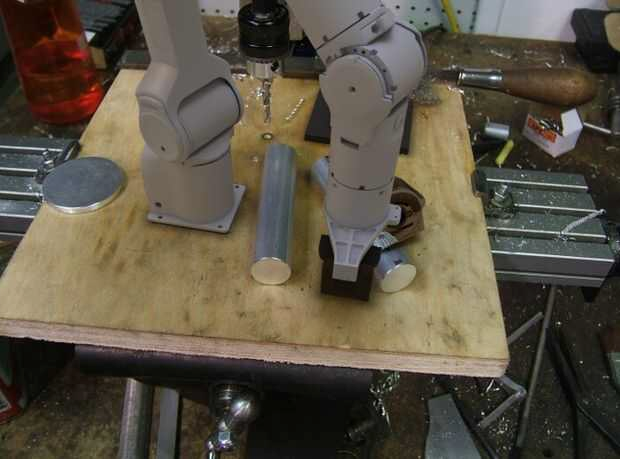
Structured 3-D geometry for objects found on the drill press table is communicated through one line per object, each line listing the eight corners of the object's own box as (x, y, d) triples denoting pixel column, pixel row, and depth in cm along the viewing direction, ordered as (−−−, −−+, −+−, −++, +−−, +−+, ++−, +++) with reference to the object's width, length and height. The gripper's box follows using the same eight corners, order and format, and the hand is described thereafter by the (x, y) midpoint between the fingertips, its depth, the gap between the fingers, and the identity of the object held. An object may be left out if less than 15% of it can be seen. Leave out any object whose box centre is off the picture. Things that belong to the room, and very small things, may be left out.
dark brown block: (320, 293, 57) (322, 267, 54) (326, 264, 60) (328, 238, 57) (368, 301, 57) (373, 275, 54) (372, 272, 60) (377, 246, 57)
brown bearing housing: (332, 222, 57) (431, 208, 56) (326, 138, 65) (412, 124, 64) (341, 262, 62) (432, 251, 61) (335, 180, 71) (414, 168, 69)
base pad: (304, 140, 76) (305, 121, 74) (319, 94, 84) (320, 76, 82) (407, 154, 74) (411, 136, 72) (412, 106, 83) (415, 88, 81)
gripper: (403, 235, 42) (380, 337, 52) (413, 127, 52) (392, 229, 62) (311, 221, 43) (305, 324, 53) (338, 116, 53) (329, 219, 63)
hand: (348, 272), depth 57 cm, fingers closed on dark brown block, 4 cm apart
